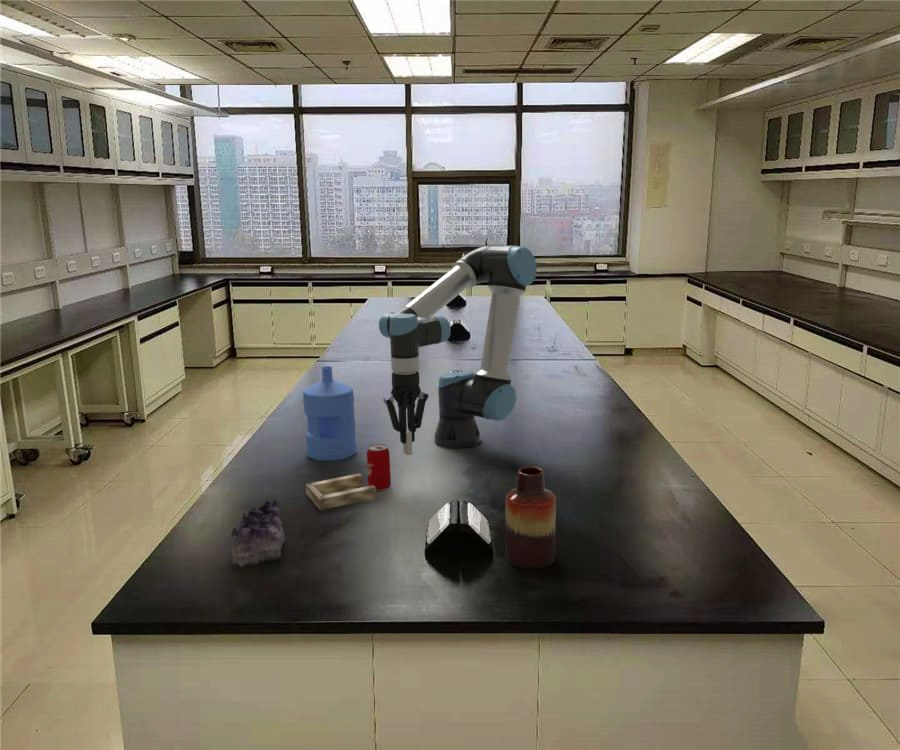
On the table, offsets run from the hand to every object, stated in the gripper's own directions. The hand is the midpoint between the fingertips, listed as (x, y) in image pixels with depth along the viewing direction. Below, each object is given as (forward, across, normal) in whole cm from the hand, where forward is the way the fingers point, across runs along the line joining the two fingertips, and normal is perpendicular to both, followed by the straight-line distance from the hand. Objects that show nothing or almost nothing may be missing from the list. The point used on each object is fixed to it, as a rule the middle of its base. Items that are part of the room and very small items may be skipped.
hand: (407, 453), depth 198 cm
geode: (+9, +46, +19) cm, 51 cm away
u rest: (+9, +20, 0) cm, 22 cm away
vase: (+9, -4, +54) cm, 55 cm away
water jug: (+9, +11, -34) cm, 37 cm away
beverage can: (+9, +9, 0) cm, 12 cm away
